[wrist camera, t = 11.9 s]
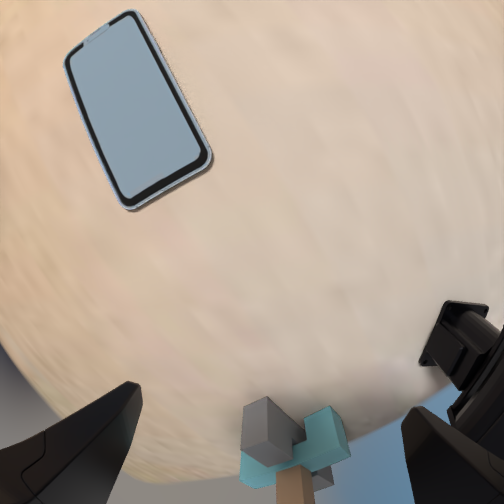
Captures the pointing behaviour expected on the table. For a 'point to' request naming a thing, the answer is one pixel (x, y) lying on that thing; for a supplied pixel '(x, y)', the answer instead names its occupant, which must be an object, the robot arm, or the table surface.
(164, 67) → the smartphone
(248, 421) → the slotted bar
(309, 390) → the table surface
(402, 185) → the table surface
